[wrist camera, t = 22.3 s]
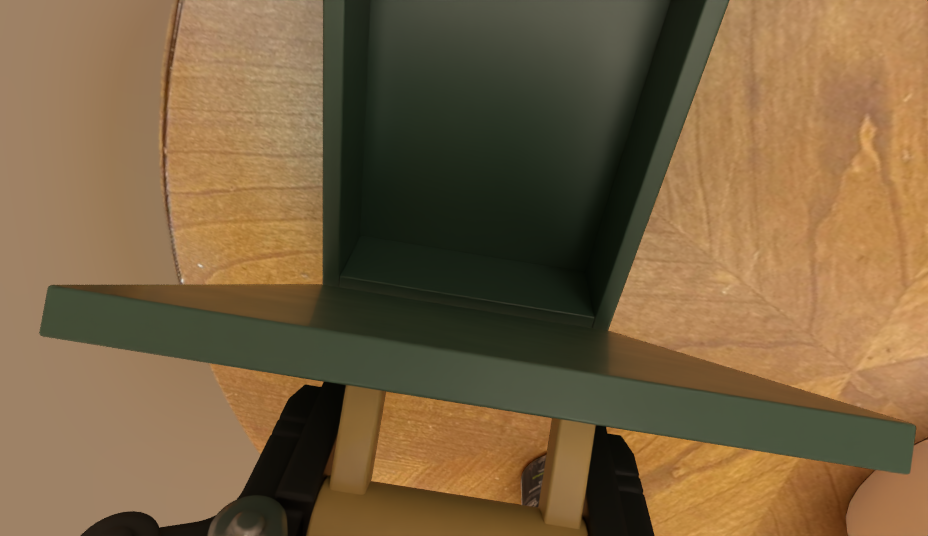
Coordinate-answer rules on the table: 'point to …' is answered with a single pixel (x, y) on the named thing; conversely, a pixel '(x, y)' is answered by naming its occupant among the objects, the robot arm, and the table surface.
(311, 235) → the table surface
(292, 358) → the chest lid
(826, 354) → the table surface
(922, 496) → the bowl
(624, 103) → the green chest
